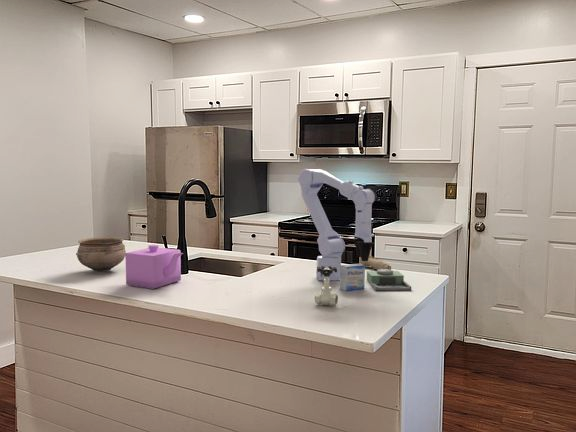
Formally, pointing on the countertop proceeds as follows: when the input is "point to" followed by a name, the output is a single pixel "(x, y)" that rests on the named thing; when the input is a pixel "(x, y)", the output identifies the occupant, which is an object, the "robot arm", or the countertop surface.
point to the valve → (326, 288)
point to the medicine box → (352, 277)
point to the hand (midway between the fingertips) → (362, 258)
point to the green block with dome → (385, 277)
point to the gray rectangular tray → (391, 287)
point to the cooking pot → (101, 253)
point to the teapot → (153, 267)
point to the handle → (375, 263)
